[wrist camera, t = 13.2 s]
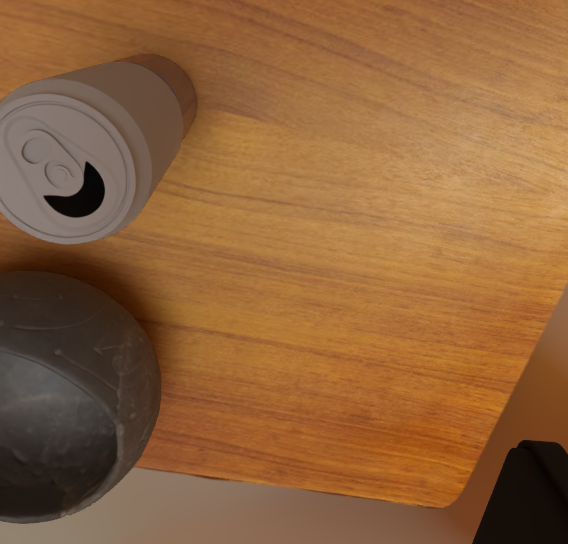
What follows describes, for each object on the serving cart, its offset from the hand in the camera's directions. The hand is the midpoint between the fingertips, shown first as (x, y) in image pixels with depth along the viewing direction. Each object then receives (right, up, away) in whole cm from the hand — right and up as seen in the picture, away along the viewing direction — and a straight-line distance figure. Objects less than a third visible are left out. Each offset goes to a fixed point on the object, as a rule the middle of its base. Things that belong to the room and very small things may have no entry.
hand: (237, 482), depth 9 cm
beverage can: (-8, +12, +22) cm, 26 cm away
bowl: (-18, -2, +37) cm, 41 cm away
